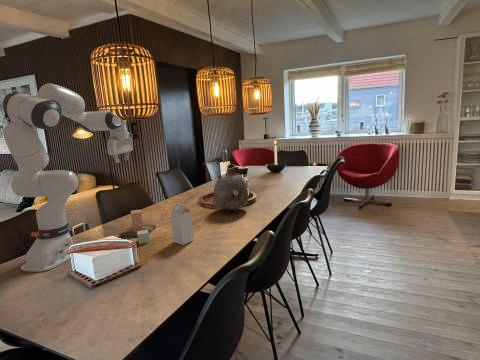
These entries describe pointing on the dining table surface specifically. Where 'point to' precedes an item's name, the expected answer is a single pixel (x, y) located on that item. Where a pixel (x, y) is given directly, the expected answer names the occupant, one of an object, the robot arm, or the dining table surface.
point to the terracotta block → (137, 220)
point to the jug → (230, 190)
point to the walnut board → (130, 233)
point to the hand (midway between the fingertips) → (122, 161)
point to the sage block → (143, 236)
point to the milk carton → (182, 224)
